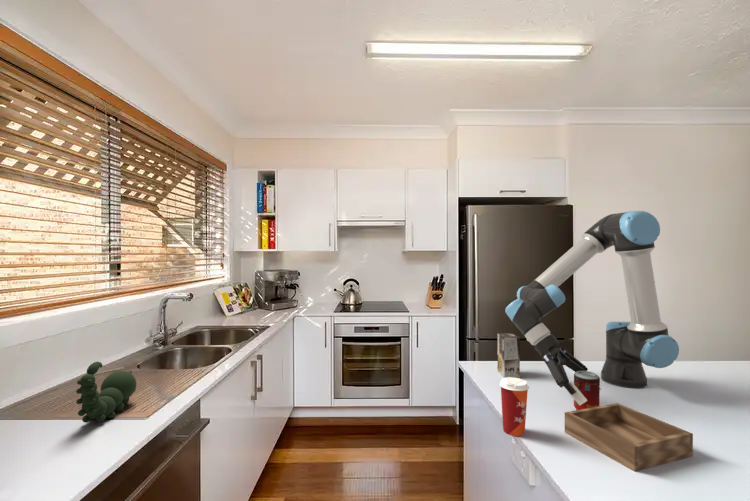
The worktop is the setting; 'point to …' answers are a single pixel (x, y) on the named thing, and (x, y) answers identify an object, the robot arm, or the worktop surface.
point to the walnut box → (629, 436)
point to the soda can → (587, 388)
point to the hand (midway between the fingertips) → (591, 397)
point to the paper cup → (514, 405)
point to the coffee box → (509, 355)
